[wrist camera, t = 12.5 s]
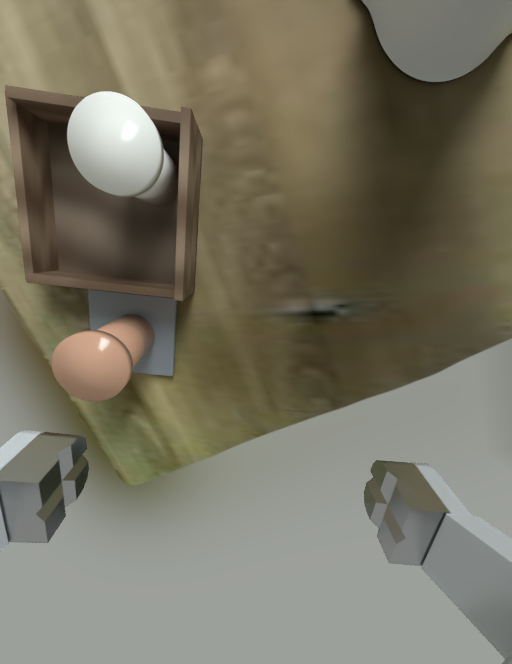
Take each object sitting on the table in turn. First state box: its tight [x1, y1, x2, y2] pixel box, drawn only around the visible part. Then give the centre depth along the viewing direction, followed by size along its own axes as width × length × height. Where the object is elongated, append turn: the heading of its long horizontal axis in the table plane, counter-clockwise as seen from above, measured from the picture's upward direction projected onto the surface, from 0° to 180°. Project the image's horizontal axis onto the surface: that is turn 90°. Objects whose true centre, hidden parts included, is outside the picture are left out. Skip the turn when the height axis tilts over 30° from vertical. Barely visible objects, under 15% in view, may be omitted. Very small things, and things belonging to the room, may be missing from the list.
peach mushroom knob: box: [52, 314, 155, 401], centre depth 29 cm, size 6×6×10 cm
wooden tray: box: [5, 85, 203, 301], centre depth 28 cm, size 16×16×7 cm
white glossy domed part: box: [67, 91, 179, 206], centre depth 25 cm, size 6×6×10 cm
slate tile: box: [88, 289, 177, 376], centre depth 34 cm, size 10×10×1 cm
